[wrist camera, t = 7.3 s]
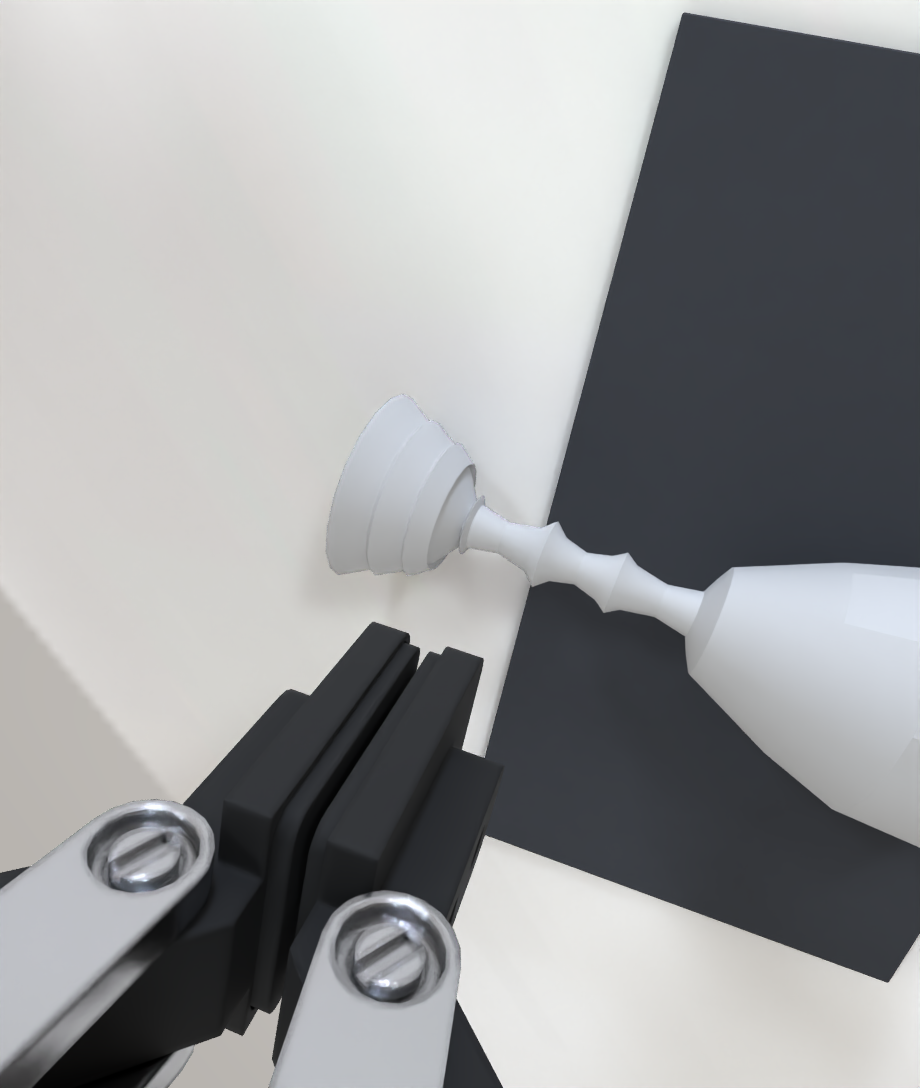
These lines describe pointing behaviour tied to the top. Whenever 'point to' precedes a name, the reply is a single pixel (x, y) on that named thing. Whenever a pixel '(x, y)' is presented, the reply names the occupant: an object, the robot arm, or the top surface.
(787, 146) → the mat
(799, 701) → the chalice
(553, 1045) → the top surface
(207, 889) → the robot arm
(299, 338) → the top surface
